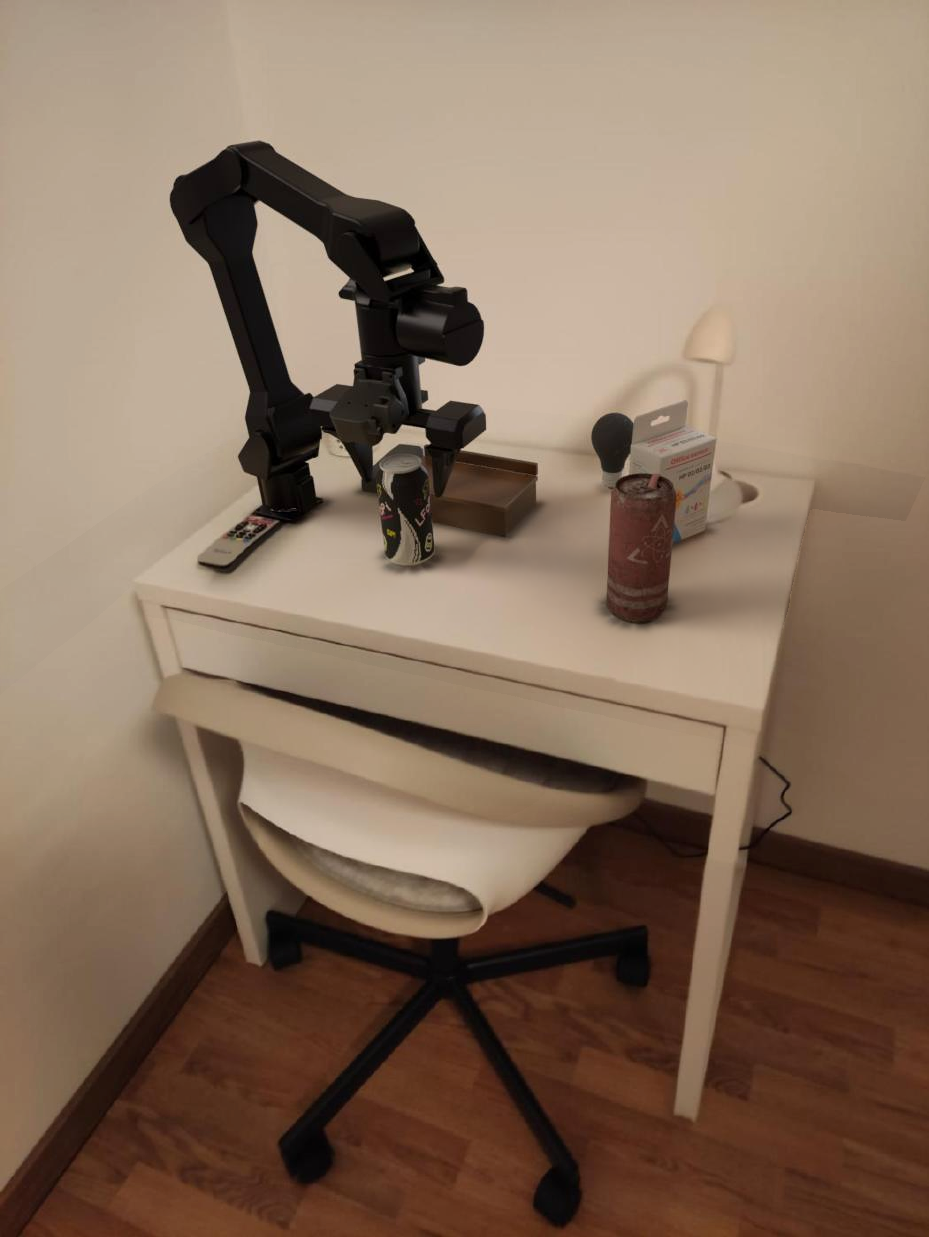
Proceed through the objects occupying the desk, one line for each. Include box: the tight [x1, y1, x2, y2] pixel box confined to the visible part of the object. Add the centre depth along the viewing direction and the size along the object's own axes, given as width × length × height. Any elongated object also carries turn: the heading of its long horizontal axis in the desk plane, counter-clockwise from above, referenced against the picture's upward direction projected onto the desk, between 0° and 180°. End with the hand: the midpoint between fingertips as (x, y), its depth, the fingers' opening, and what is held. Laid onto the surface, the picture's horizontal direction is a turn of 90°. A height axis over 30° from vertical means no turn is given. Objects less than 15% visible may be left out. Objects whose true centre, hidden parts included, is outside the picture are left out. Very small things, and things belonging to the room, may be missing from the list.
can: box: [605, 473, 677, 624], centre depth 87 cm, size 6×6×14 cm
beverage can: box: [376, 454, 436, 567], centre depth 98 cm, size 6×6×12 cm
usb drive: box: [360, 442, 425, 494], centre depth 120 cm, size 5×12×3 cm, turn 158°
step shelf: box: [421, 443, 539, 538], centre depth 110 cm, size 16×10×6 cm, turn 62°
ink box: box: [628, 399, 717, 544], centre depth 99 cm, size 8×5×15 cm, turn 123°
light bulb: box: [590, 412, 634, 490], centre depth 111 cm, size 6×6×10 cm
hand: (403, 489), depth 97 cm, fingers open, 9 cm apart
